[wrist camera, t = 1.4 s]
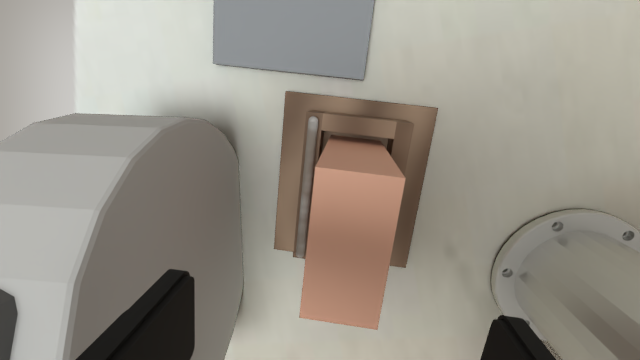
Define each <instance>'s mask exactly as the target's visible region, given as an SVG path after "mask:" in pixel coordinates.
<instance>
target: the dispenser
mask: <svg viewBox="0 0 640 360" xmlns="http://www.w3.org/2000/svg"><path fill="white" fill-rule="evenodd" d="M437 111H438V108H433V107H424V106H415V105H406V104H397V103H388V102H379V101H370V100H361V99H352V98H343V97H334V96H325V95H316V94H307V93H298V92H289V91H286V93H285V107H284V120H283V134H282V147H281V161H280V174H279V188H278V202H277V215H276V229H275V242H274V249H278V250H285V251H292V252H293V257H297V258H304V259H306V250H307V241H308V231H309V222H310V212H311V202H312V193H313V183H314V174H315V166H316V164H317V162H318V160H319V158H320V156H321V154H322V152H323V150H324V148H325V146H326V144H327V142H328V140H329V138H330V136H331V135H338V136H347V137H355V138H363V139H372V140H380V141H381V142H382V144H383V145H384V147H385V148H386V150H387V151H388V153H389V154H390V156H391V157H392V159H393V160H394V162H395V163H396V165H397V166H398V168H399V169H400V171H401V172H402V174H403V175H404V177H405V178H406V179H405V184H404V190H403V195H402V200H401V206H400V211H399V216H398V222H397V227H396V232H395V238H394V243H393V248H392V254H391V259H390V264H389V265H390V266H397V267H404V268H406V264H407V259H408V254H409V249H410V244H411V239H412V234H413V229H414V224H415V219H416V215H417V210H418V205H419V200H420V195H421V190H422V185H423V180H424V175H425V170H426V165H427V161H428V156H429V151H430V146H431V141H432V136H433V131H434V126H435V121H436V116H437Z"/></svg>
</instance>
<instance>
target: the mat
mask: <svg viewBox="0 0 640 360" xmlns="http://www.w3.org/2000/svg"><path fill="white" fill-rule="evenodd" d="M373 7H374V0H214V22H213V64H217V65H225V66H234V67H244V68H253V69H262V70H272V71H281V72H290V73H300V74H309V75H318V76H328V77H337V78H346V79H356V80H364V72H365V65H366V58H367V50H368V43H369V36H370V29H371V21H372V14H373Z"/></svg>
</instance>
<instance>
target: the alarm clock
mask: <svg viewBox="0 0 640 360" xmlns="http://www.w3.org/2000/svg"><path fill="white" fill-rule="evenodd" d="M169 269H176V270H183V271H188V272H189V274H190V276H192V277H194V281H195V347H194V352H193V355H192V357H191V359H190V360H224V359H225V355H226V352H227V349H228V346H229V343H230V340H231V337H232V333H233V330H234V326H235V322H236V318H237V314H238V309H239V305H240V301H241V296H242V290H243V284H244V277H243V253H242V229H241V206H240V182H239V162H238V159H237V156H236V153H235V151H234V149H233V147H232V146H231V144H230V143H229V141H228V139H227V138H226V136H225V135H224V133H223V132H221V131H220V130H219V129H217V128H216V127H215V126H213V125H212V124H210V123H209V122H208V121H206V120H202V119H194V118H186V117H163V116H135V115H107V114H79V113H75V114H70V115H66V116H62V117H57V118H53V119H49V120H44V121H40V122H35V123H32V124H30V125H29V126H27V127H25V128H23V129H22V130H20V131H18V132H16V133H15V134H13V135H11V136H9V137H8V138H6V139H4V140H2V141H0V360H76V359H77V358H78V357H79V356H80V355H81V354H82V353H83V352H84V351H85V350H86V349H87V348H88V347H89V346H90V345H91V344H92V343H93V342H94V341H95V340H96V339H97V338H98V337H99V336H100V335H101V334H102V333H103V332H104V331H105V330H106V329H107V328H108V327H109V326H110V325H111V324H112V323H113V322H114V321H115V320H116V319H117V318H118V317H119V316H120V315H121V314H122V313H124V312H125V311H126V310H128V309H129V308H130V307H131V306H132V305H133V304H134V303H135V302H136V301H137V300H138V299H139V298H140V297H141V296H142V295H143V294H144V293H145V292H146V291H147V290H148V289H149V288H150V287H151V286H152V285H153V284H154V283H155V282H156V281H157V280H158V279H159V278H160V277H161V276H162V275H163V274H164V273H165V272H166V271H167V270H169Z"/></svg>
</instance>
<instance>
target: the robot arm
mask: <svg viewBox="0 0 640 360" xmlns="http://www.w3.org/2000/svg"><path fill="white" fill-rule="evenodd" d="M491 285H492V293H493V296H494V298H495V301H496V304H497V305H498V307H499V308H500V310H501V311H502V313H503V314H504V315H502V316H500V317H498V319H497V320H493V322H492V324H491V327H490V330H489V334H488V337H487V340H486V343H485V347H484V350H483V353H482V356H481V360H556V359H555V358H554V357H553V355H552V354H551V353H550V352H549V350H548V349H547V348H546V346H545V345H544V344H543V343H542V341H541V340H543V341H548V342H549V344H550V345H551V346H552V347H553V349H554V350H555V351H556V352H557V353H558V355H559V356H560V357H561V358H562V360H640V232H639V231H638V230H637V229H636V228H634V227H633V226H631V225H630V224H629V223H627V222H625V221H623V220H621V219H619V218H617V217H615V216H612V215H609V214H606V213H603V212H600V211H594V210H587V209H573V210H564V211H559V212H554V213H551V214H548V215H545V216H543V217H540V218H537V219H536V220H534V221H532V222H530V223H529V224H527V225H525V226H524V227H522V228H521V229H520V230H519V231H517V232H516V233H515V234H514V235H512V237H511V238H510V239H509V240H508V241H507V242H506V243H505V245H504V246H503V247H502V249H501V251H500V252H499V254H498V256H497V258H496V260H495V263H494V266H493V269H492V278H491ZM194 347H195V281H194V277H192V276H190V274H189V272H188V271H183V270H176V269H169V270H167V271H166V272H165V273H164V274H163V275H162V276H161V277H160V278H159V279H158V280H157V281H156V282H155V283H154V284H153V285H152V286H151V287H150V288H149V289H148V290H147V291H146V292H145V293H144V294H143V295H142V296H141V297H140V298H139V299H138V300H137V301H136V302H135V303H134V304H133V305H132V306H131V307H130V308H129V309H128V310H126V311H125V312H124V313H122V314H121V315H120V316H119V317H118V318H117V319H116V320H115V321H114V322H113V323H112V324H111V325H110V326H109V327H108V328H107V329H106V330H105V331H104V332H103V333H102V334H101V335H100V336H99V337H98V338H97V339H96V340H95V341H94V342H93V343H92V344H91V345H90V346H89V347H88V348H87V349H86V350H85V351H84V352H83V353H82V354H81V355H80V356H79V357H78V358H77V359H76V360H190V359H191V357H192V355H193V352H194Z"/></svg>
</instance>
